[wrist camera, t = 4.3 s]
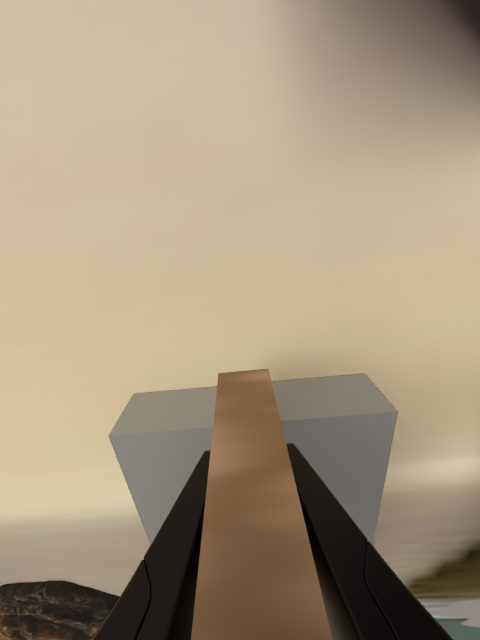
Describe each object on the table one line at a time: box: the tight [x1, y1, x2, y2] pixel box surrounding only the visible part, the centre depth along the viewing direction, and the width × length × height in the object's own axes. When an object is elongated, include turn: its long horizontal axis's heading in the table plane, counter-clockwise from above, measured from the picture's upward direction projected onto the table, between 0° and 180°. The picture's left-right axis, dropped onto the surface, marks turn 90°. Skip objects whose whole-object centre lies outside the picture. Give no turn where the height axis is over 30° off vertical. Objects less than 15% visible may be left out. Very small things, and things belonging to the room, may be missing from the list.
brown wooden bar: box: [191, 369, 333, 640], centre depth 7 cm, size 2×2×10 cm
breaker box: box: [109, 374, 398, 545], centre depth 22 cm, size 20×16×4 cm
